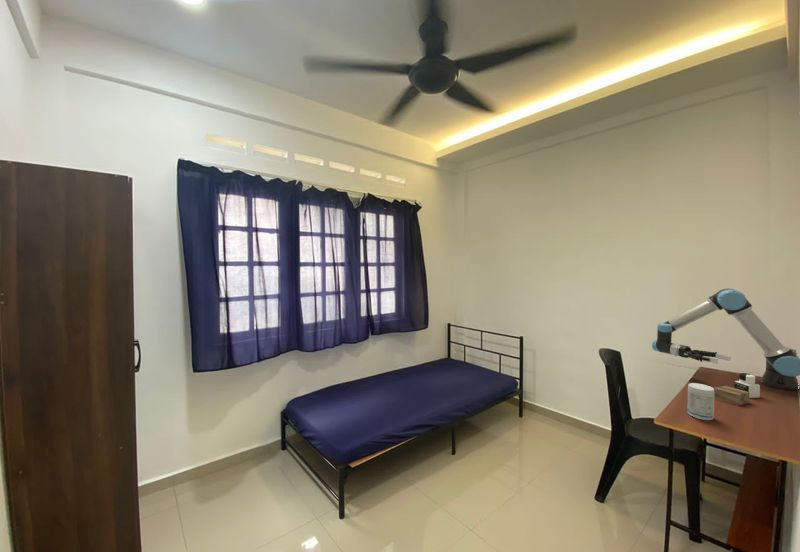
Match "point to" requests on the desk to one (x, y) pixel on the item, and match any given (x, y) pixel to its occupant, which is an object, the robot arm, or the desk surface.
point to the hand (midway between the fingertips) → (724, 360)
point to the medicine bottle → (748, 385)
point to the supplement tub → (700, 401)
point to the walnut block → (731, 395)
